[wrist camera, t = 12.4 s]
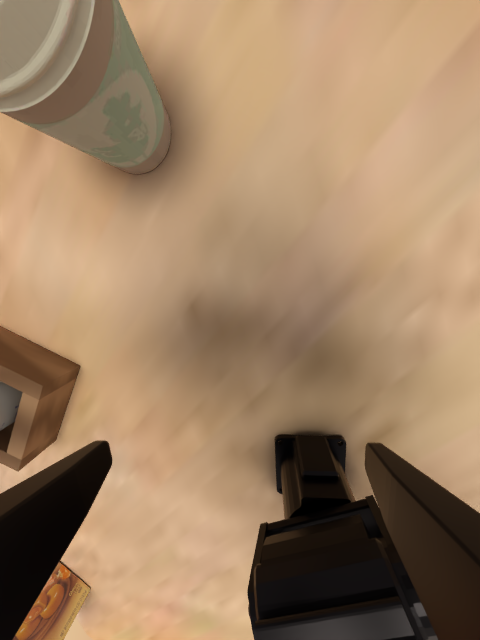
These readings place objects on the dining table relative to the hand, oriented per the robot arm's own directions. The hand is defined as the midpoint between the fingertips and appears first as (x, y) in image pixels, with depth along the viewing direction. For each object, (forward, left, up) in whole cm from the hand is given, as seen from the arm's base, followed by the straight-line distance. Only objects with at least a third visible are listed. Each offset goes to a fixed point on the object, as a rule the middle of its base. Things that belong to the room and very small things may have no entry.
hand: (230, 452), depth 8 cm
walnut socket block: (-4, +24, -13) cm, 27 cm away
